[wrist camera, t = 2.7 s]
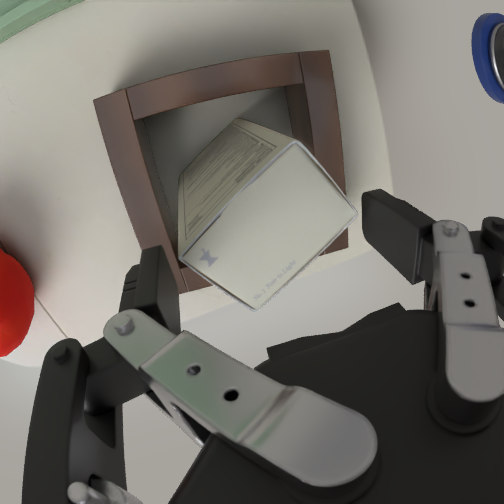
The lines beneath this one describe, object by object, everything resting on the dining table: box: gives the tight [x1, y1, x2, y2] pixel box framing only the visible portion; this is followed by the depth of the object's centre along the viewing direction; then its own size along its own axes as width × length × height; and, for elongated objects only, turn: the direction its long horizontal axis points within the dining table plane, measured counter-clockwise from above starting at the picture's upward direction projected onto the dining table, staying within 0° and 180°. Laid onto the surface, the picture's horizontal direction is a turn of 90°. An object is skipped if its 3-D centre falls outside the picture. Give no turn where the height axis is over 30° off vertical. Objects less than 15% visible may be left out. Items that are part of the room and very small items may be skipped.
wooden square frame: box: [93, 50, 348, 294], centre depth 21 cm, size 14×14×4 cm
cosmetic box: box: [178, 118, 358, 311], centre depth 17 cm, size 6×4×12 cm
